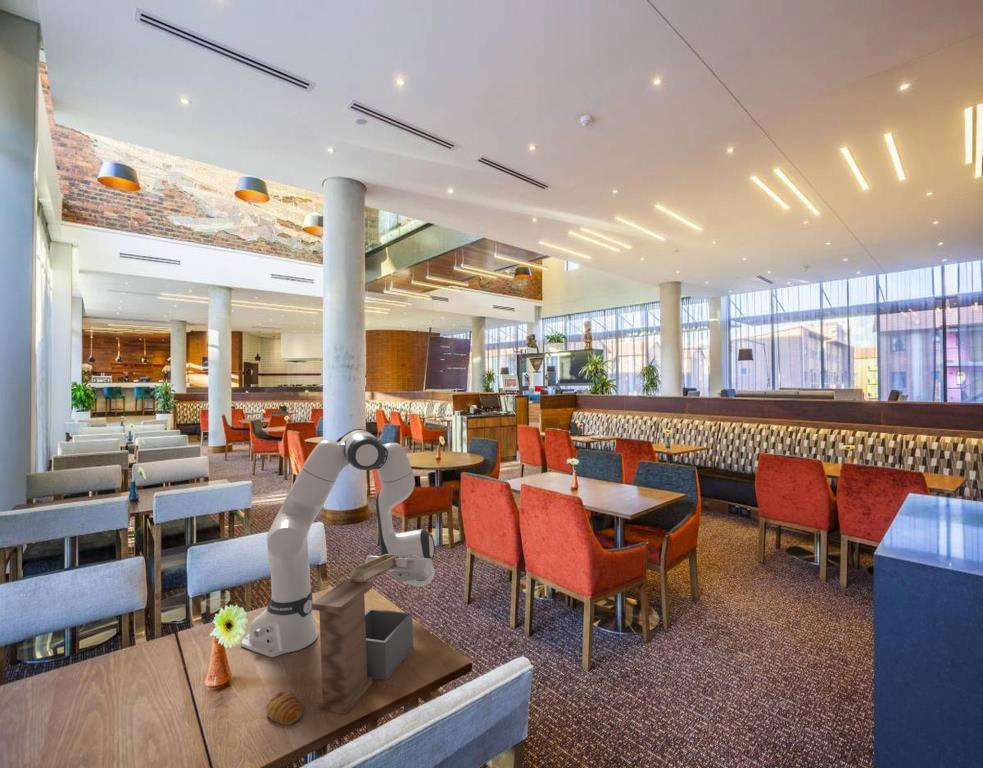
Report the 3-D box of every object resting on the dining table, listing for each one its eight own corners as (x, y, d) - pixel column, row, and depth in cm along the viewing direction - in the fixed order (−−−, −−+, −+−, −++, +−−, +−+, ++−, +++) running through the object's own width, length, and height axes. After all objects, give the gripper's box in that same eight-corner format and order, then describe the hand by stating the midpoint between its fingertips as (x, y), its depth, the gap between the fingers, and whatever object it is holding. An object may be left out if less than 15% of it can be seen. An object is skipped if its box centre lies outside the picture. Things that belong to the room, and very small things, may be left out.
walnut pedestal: (315, 710, 116) (311, 603, 116) (349, 675, 130) (345, 579, 129) (344, 715, 114) (340, 607, 113) (375, 679, 127) (371, 582, 127)
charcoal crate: (340, 672, 131) (339, 636, 131) (371, 640, 146) (370, 608, 146) (386, 680, 127) (385, 642, 127) (413, 647, 142) (412, 613, 142)
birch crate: (349, 581, 128) (350, 569, 128) (385, 564, 146) (385, 553, 146) (364, 582, 126) (364, 570, 127) (398, 565, 144) (398, 554, 145)
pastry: (310, 715, 115) (309, 699, 115) (283, 732, 110) (282, 716, 109) (289, 699, 121) (289, 684, 121) (263, 715, 115) (262, 699, 115)
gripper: (379, 555, 158) (358, 547, 147) (436, 559, 152) (419, 551, 141) (375, 575, 155) (353, 569, 144) (433, 581, 149) (415, 574, 138)
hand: (386, 560), depth 142 cm, fingers closed on birch crate, 4 cm apart
